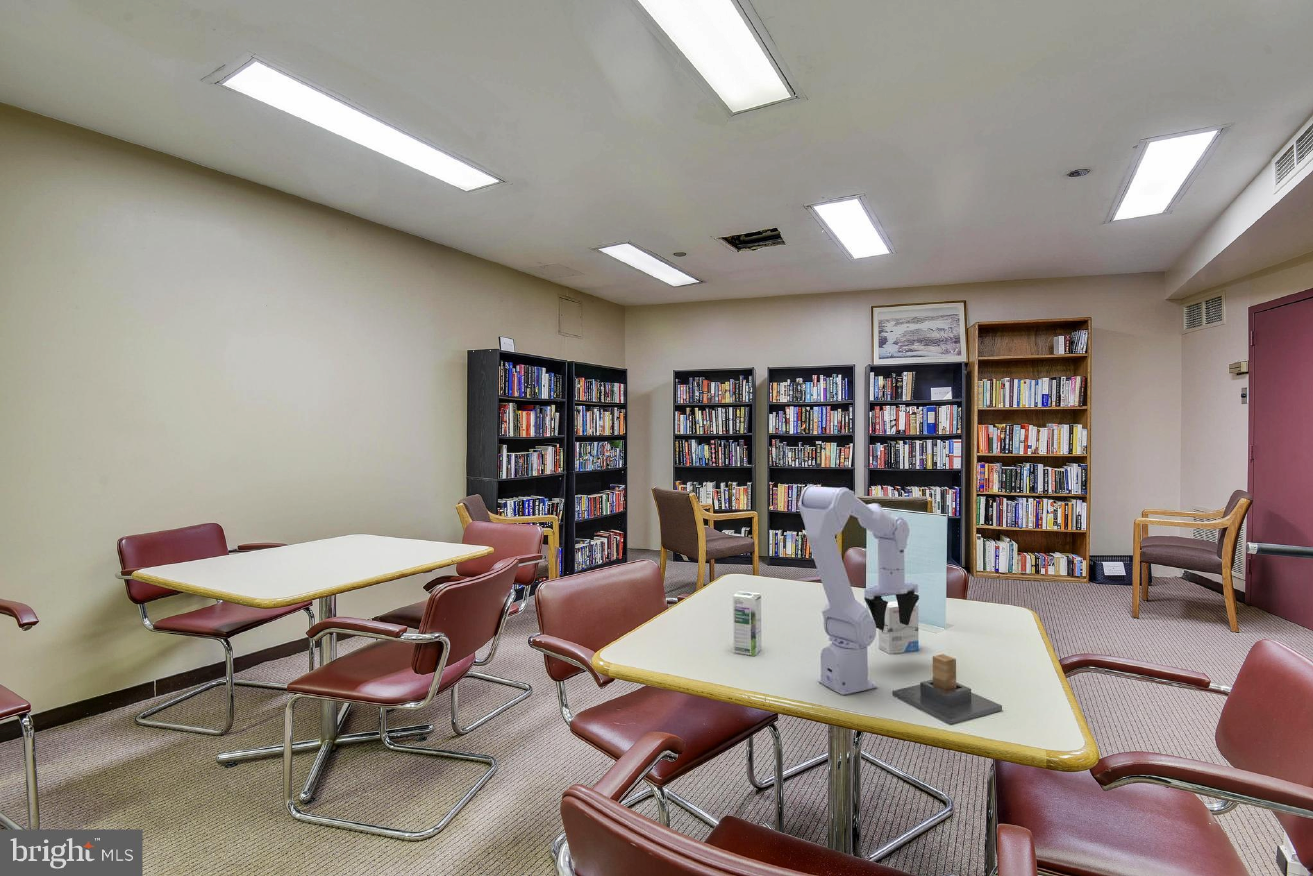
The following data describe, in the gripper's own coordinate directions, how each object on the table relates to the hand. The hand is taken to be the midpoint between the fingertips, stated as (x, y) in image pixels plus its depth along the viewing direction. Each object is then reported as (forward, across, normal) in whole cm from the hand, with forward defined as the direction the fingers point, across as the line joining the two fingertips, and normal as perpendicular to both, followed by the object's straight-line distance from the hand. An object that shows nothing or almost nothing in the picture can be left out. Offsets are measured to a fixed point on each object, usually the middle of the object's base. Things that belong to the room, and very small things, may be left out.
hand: (892, 626), depth 138 cm
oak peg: (+8, -5, -19) cm, 21 cm away
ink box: (+10, +10, +8) cm, 16 cm away
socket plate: (+9, -5, -19) cm, 22 cm away
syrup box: (+10, -25, +23) cm, 35 cm away
